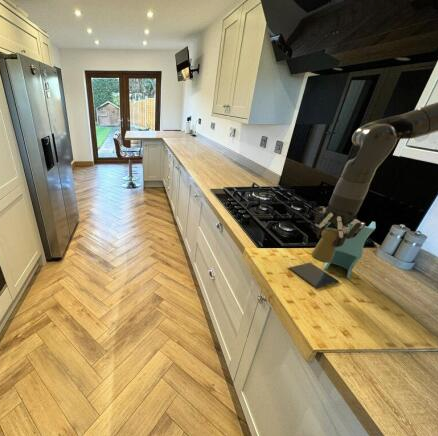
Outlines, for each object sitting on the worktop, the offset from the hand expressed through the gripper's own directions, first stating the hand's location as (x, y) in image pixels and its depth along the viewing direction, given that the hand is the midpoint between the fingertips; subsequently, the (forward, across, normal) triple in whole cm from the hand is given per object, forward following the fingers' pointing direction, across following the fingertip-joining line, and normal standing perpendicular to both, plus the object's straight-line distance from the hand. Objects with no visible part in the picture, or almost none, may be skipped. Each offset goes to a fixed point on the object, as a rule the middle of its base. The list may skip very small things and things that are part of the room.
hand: (327, 241), depth 79 cm
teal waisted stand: (+15, 0, -13) cm, 19 cm away
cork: (+7, 0, 0) cm, 7 cm away
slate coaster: (+14, 0, 0) cm, 14 cm away
